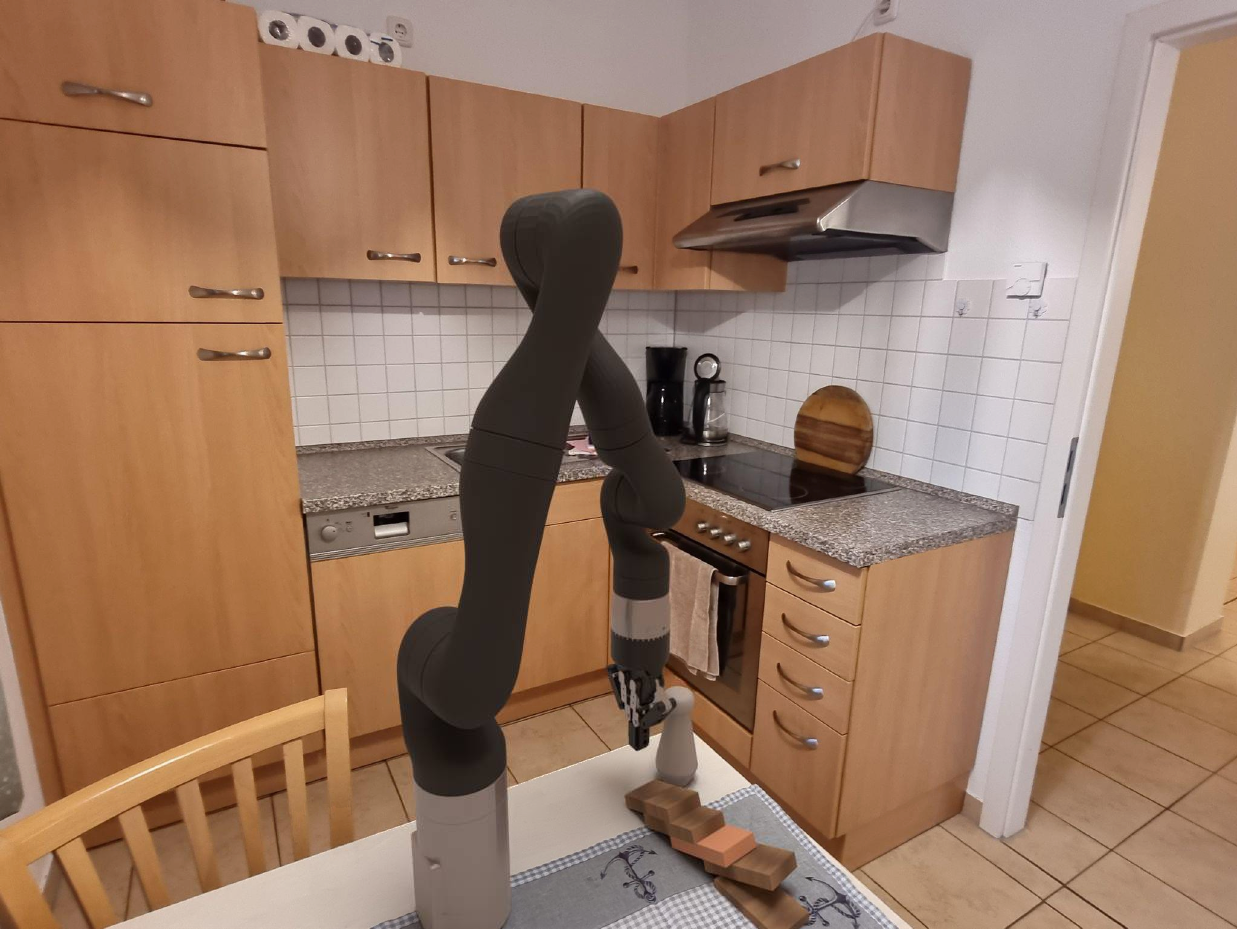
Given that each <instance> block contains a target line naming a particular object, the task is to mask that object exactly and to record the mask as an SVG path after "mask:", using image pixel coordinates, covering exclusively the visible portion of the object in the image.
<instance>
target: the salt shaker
mask: <svg viewBox="0 0 1237 929" xmlns="http://www.w3.org/2000/svg"><path fill="white" fill-rule="evenodd" d="M664 692H665V693H666V695H667V697H668V699H670V698H674V699H675V700H676V703H677V706H676V707H675V709H674V710H673V711H672V712H671V713H670V714H669V715H668V716H667V717H666V718H665V719H664V720H663V721H664V723H663V726H662V730H661V734H660V738H659V742H658V747H657V750H656V751H657V752H656V754H655V768H656V770H657V773H658V775H659V777H660V781H661V780H662V782H665V783H669V784H672V785H676V786H679V787H682V788H685V786H687V785H688V784H689V783H690V782H691V781H692V780H693V778H694V775H695V774H696V772H697V770H698V766H699V764H698V763H699V762H698V756H697V751H696V750H697V749H696V742H695V737H694V730H693V720H692V717H691V716H692V715H691V713H692V711H693V710H694V708H695V706H696V705H695V704H696V702H695V696H694V693H693V692H692V691H691V689H689V688H687V687H685V686H680V685H676V686H675V685H674V686H671V687H668V688H666V689H665V690H664Z"/></svg>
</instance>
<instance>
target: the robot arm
mask: <svg viewBox="0 0 1237 929" xmlns="http://www.w3.org/2000/svg"><path fill="white" fill-rule="evenodd" d="M623 227H624V226H623V222H622V217H621V215H620V212H619V209H618V207H617V205H616V204H615V202H614V201H613V200H612V198H611V197H610V196H609V195H607V194H606V193H605V192H603V191H600V190H598V189H595V188H572V189H562V190H555V191H549V192H542V193H535V194H530V195H526V196H522V197H520V198H518V199H515V200H514V202H512V203H511V205H510V206H508V208H507V209H506V211H505V212H504V215H503V216H502V220H501V223H500V229H499V245H500V251H501V254H502V257H503V260H504V263H505V265H506V267H507V269H508V272H509V274H510V275H511V278H512V280H513V282H514V283H515V285H516V287H517V289H518V291H519V293H520V294H521V296H522V297H523V299H524V301H525V303H526V305H527V306H528V308H529V309H530V312H531V314H532V318H531V320H530V323H529V325H528V327H527V330H526V333H525V335H524V336H523V338H522V340H521V341H520V343H519V344H518V346H517V347H516V349H515V350H514V352H513V353H512V355H511V356H510V357H509V358H508V360H507V361H506V363H505V364H504V366H502V368H501V369H500V371H499V372H498V374H497V375H496V376H495V378H494V379H493V381H492V382H491V383H490V385H489V386H488V388H487V389H486V391H485V393H484V394H483V395H482V397H481V399H480V401H479V403H478V404H477V407H476V408H475V411H474V414H473V416H472V421H471V424H470V427H471V428H470V429H469V431H468V436H467V439H466V443H465V448H464V451H463V455H462V461H461V465H460V472H459V479H458V480H459V482H458V497H459V501H458V502H459V512H460V513H459V514H460V521H461V522H460V523H461V528H462V529H461V530H462V537H463V538H462V539H463V546H464V547H463V548H464V574H463V580H462V581H463V582H462V587H461V593H460V596H459V600H458V605H457V607H456V606H450V605H449V606H447V605H445V606H444V605H443V606H439V607H435V608H432V609H429V610H428V611H425V612H423V613H422V614H421V615H420V616H418V617H417V618H416V619H415V620H414V621H413V622H412V623H411V624H410V626H409V627H408V629H407V630H406V632H405V633H404V635H403V637H402V639H401V642H400V645H399V648H398V652H397V659H396V682H397V694H398V702H399V711H400V712H399V714H400V719H401V720H400V723H401V729H402V737H403V741H404V742H403V743H404V745H405V747H406V748H405V749H406V750H407V753H408V755H409V758H410V760H411V765H412V777H413V778H412V779H413V792H414V796H413V797H414V811H415V825H416V826H415V827H416V830H414V831H413V832H411V834H410V840H411V855H412V857H411V859H412V870H413V885H414V886H413V887H414V890H413V891H414V904H415V911H416V914H417V916H418V919H419V921H420V923H421V925H422V928H423V929H502V927H503V926H504V925H505V923H506V922H507V920H508V919H509V915H510V913H511V906H512V894H511V893H512V883H511V860H510V859H511V858H510V857H511V856H510V831H509V830H510V829H509V827H510V826H509V825H510V824H509V797H508V793H509V792H508V766H507V764H508V763H507V762H508V760H507V759H508V755H507V741H506V738H505V734H504V732H503V730H502V728H501V725H500V724H499V723H498V721H497V718H496V716H498V715H499V713H500V712H501V711H502V710H503V708H505V705H506V704H507V702H508V701H509V699H510V698H511V695H512V693H513V691H514V688H515V686H516V683H517V682H518V681H517V680H518V678H519V674H520V673H519V672H520V668H521V663H522V659H523V658H522V656H523V652H524V645H525V639H526V637H525V636H526V630H527V622H528V617H529V615H528V614H529V607H530V602H531V595H532V588H533V583H534V578H535V573H536V569H537V564H538V561H539V560H538V559H539V555H540V551H541V546H542V543H543V538H544V533H545V529H546V524H547V519H548V516H549V512H550V507H551V503H552V500H553V496H554V492H555V490H556V486H557V483H558V480H559V474H560V470H561V467H562V463H563V458H564V455H565V450H566V446H567V441H568V437H569V431H570V425H571V421H572V417H573V414H574V410H575V406H576V402H577V404H578V407H579V410H580V413H581V415H582V419H583V421H584V423H585V427H586V429H587V432H588V434H589V437H590V440H591V443H592V445H593V448H594V450H595V453H596V455H597V457H598V458H599V459H600V461H601V462H602V463H603V464H605V465H606V466H608V467H610V468H612V469H610V471H609V472H607V474H606V475H605V477H604V479H603V482H602V485H601V488H600V493H599V505H600V506H599V507H600V513H601V517H602V522H603V526H604V529H605V533H606V538H607V542H608V544H609V548H610V552H611V555H612V560H613V562H612V563H613V566H612V568H613V569H612V596H611V597H612V598H611V602H610V649H609V650H610V658H611V660H612V661H613V662H612V663H610V664H607V665H606V666H605V671H606V673H607V677H608V679H609V683H610V686H611V689H612V692H613V695H614V698H615V702H616V703H617V704H616V705H617V707H618V709H619V710H621V711H623V710H624V717H625V718H626V720H627V721H628V722H627V723H628V724H627V727H628V730H627V731H628V732H627V733H628V734H627V736H628V745H629V746H630V747H631V748H632V749H633V750H634V751H635V752H639V751H641V750H644V749H646V748H648V746H650V733H651V732H650V731H651V730H650V729H651V728H652V727H655V726H657V725H659V724H661V723H663V721H665V718H666V717H667V716H668V715H669V714H670V713H671V712H672V711H673V710H674V709H675V707H676V706H677V703H676V700H675V699H674V698H670V699H668V697H667V695H666V693H665V690H664V688H665V684H666V683H665V678H664V674H663V671H664V670H663V669H664V668H665V665H666V664H667V662H668V661H669V659H670V653H671V651H670V650H671V647H670V646H671V621H672V619H671V618H672V617H671V614H672V613H671V612H672V611H671V609H672V608H671V607H672V605H671V597H670V580H671V579H670V578H671V577H670V576H671V574H670V572H671V569H670V568H671V557H670V552H669V549H668V548H667V547H666V546H665V545H663V544H662V543H660V542H659V540H656V539H655V538H653V537H652V536H651V535H650V534H649V533H648V531H647V529H649V530H652V531H653V530H654V531H666V530H669V529H670V530H671V528H673V527H675V526H676V525H677V524H679V522H680V520H681V519H682V517H683V516H684V513H685V510H686V504H687V492H686V488H685V487H686V486H685V484H684V481H683V478H682V477H681V474H680V472H679V470H678V468H677V467H676V465H675V463H674V462H673V461H672V459H671V458H670V456H669V455H668V453H667V451H666V450H665V447H664V446H663V445H662V443H661V442H660V440H659V439H658V438H657V436H656V435H655V433H654V430H653V427H652V422H651V421H650V416H649V414H648V410H647V407H646V403H645V400H644V397H643V395H642V391H641V388H640V386H639V385H638V382H637V381H636V378H635V376H634V375H633V373H632V372H631V370H630V368H629V367H628V366H627V364H626V363H625V361H624V360H623V359H622V358H621V356H620V355H619V354H618V352H617V351H616V350H615V348H614V347H613V346H612V345H611V344H610V342H609V341H608V340H607V338H606V337H605V336H604V333H602V331H601V330H600V328H599V326H600V323H601V321H602V318H603V315H604V312H605V310H606V306H607V304H608V301H609V300H610V299H609V298H610V295H611V293H612V289H613V286H614V284H615V281H616V279H617V275H618V271H619V268H620V263H621V259H622V255H623V248H624V246H623V244H624V228H623Z"/></svg>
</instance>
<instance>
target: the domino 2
mask: <svg viewBox="0 0 1237 929" xmlns="http://www.w3.org/2000/svg"><path fill="white" fill-rule="evenodd" d="M723 813H724V812H723V811H721V810H718V809H714V808H711V807H707V806H704V805H701V806H699V807H697V808H696V809H694V810H692V811H690V812H689V813H687V814H685V815H683V816H681V817H680V818H678V819H676V820H674V821H673V822H671V823H669V822H666V821H664V820H661V819H658V818H655V817H653V816H650V815H647V814H644V813H643V816H644V822H645V825H646V828H647V829H648V828H649V830H650V829H651V830H653V831H656V832H659V833H662V834H664V835H667V836H669V837H670V836H672V837H675V838H678V839H680V840H683V841H686V842H688V843H691V844H694V845H695V844H697V843H698V842H700V841H701V840H703V839H705V838H706V837H708V836H709V835H711V834H713V833H714V832H716V831H717V830H719V829H721V828H722V827H724V826H725V824H726V823H725V819H724V818H725V817H724V814H723Z"/></svg>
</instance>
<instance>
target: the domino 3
mask: <svg viewBox="0 0 1237 929" xmlns="http://www.w3.org/2000/svg"><path fill="white" fill-rule="evenodd" d="M669 837H670V838H669V839H670V843H671V848H673V849H675V850H678V851H680V852H682V853H685V854H688V855H691V856H692V857H695V858H698V859H701V860H703V859H704V860H706V861H709V862H712V863H714V864H717V865H720V866H722V867H725V868H726V867H728V866H729V865H731V864H732V863H734V862H735V861H736V860H738V859H739V858H741V857H742V856H744V855H745V854H747V853H748V852H750V851H751V850H752V849H754V848H755V847H756V843H757V842H756V840H755V835H754V832H752V831H749V830H747V829H743V828H740V827H738V826H734V825H730V824H727V823H725V826H724V827H722V828H721V829H719V830H717V831H716V832H714V833H713V834H711V835H709V836H708V837H706V838H705V839H703V840H701V841H700V842H698V843H697V844H695V845H694V844H691V843H688V842H686V841H683V840H680V839H678V838H675V837H672V836H669Z"/></svg>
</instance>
